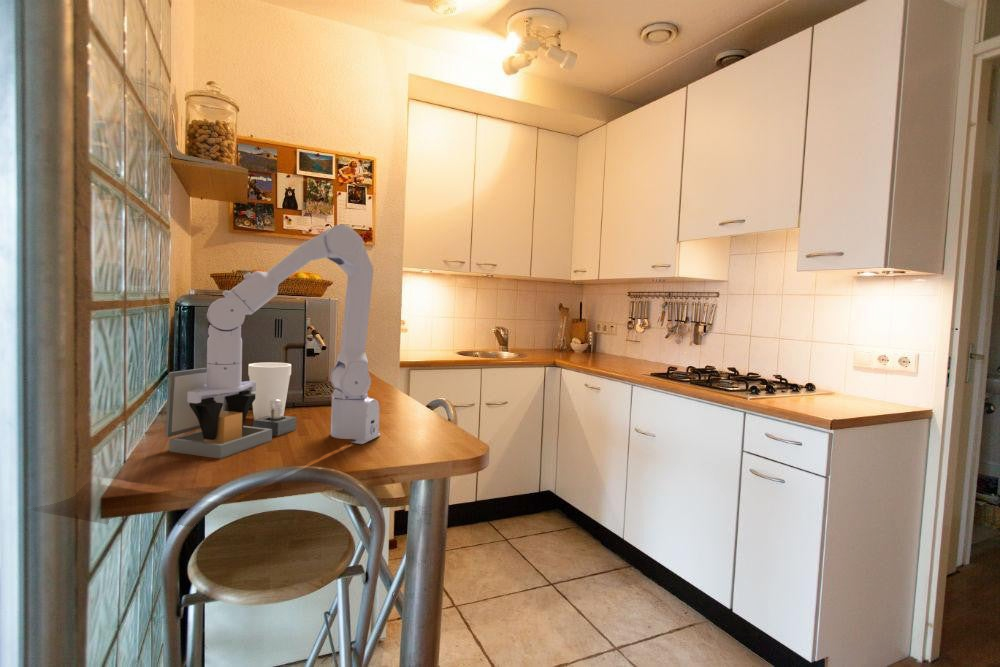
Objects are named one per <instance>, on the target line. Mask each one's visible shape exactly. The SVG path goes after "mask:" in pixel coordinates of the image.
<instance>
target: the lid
mask: <svg viewBox="0 0 1000 667" xmlns="http://www.w3.org/2000/svg"><path fill="white" fill-rule="evenodd" d="M203 385H207V367H201V368H200V367H199V368H193V369H185V370H176V371H170V372H168V379H167V399H166V400H167V401H166V411H165V412H166V416H165V430H164V431H165V433H164V434H165V435H164V437H165V438H170V437H171V438H172V437H173V436H177V435H178V436H179V435H182V434H185V433H186V434H187V433H188V432H189V433H190V432H194V431H196V430H200V429H201V427H200V424H199V421H198V419H197V417H196V415H195V413H194V412H193V410H192V409H191V407H190V406H189V403H188V402H187V392H188V391H193V390H196V389H199V388H202V387H203ZM214 401H216V402H218V403H223V406H222V409H221V411H226V404H227V401H226V399H225V397H220V398H216V399H214Z"/></svg>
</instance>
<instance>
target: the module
mask: <svg viewBox="0 0 1000 667" xmlns="http://www.w3.org/2000/svg"><path fill="white" fill-rule="evenodd" d="M241 437H242V413H241V412H231V411H229V410H225V411H220V415H219V419H218V428H217V436H216V439H214V440H209V439H204V442H208V443H216V444H223V443H226V442H229V441H232V440H235V439H238V438H241Z"/></svg>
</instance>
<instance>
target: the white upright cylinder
mask: <svg viewBox="0 0 1000 667" xmlns="http://www.w3.org/2000/svg"><path fill="white" fill-rule="evenodd" d="M269 420H272V421H278V420H282V399H271V400H270V411H269Z"/></svg>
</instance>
